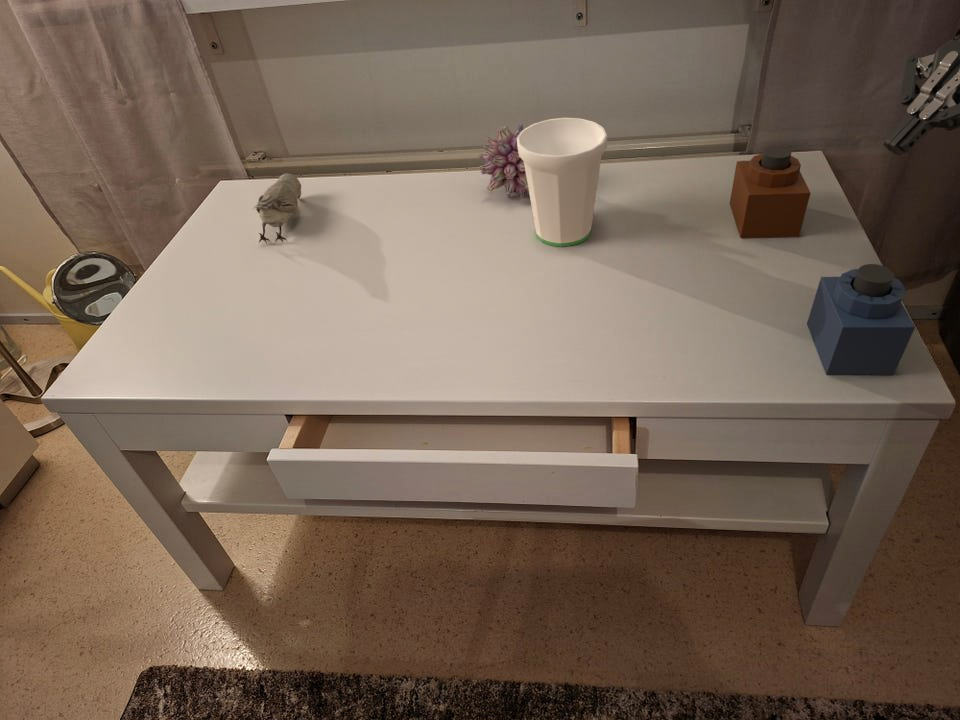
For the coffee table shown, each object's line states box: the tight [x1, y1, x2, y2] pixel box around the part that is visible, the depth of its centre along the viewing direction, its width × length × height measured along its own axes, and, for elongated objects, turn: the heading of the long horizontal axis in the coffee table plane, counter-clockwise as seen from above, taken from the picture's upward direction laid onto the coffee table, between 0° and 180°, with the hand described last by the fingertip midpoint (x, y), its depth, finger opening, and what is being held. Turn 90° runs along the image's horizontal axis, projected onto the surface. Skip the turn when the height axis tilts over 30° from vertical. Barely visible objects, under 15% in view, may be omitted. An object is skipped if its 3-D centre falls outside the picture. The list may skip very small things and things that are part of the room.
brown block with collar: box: [729, 152, 811, 239], centre depth 94 cm, size 10×8×9 cm
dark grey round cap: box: [853, 263, 895, 297], centre depth 70 cm, size 3×3×2 cm
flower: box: [477, 122, 530, 199], centre depth 107 cm, size 12×12×12 cm
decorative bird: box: [252, 172, 302, 245], centre depth 109 cm, size 5×16×8 cm, turn 176°
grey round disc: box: [761, 145, 792, 170], centre depth 91 cm, size 4×4×2 cm
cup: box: [517, 117, 608, 247], centre depth 95 cm, size 12×12×15 cm
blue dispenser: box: [806, 268, 916, 376], centre depth 73 cm, size 9×7×9 cm
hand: (891, 150), depth 74 cm, fingers closed
